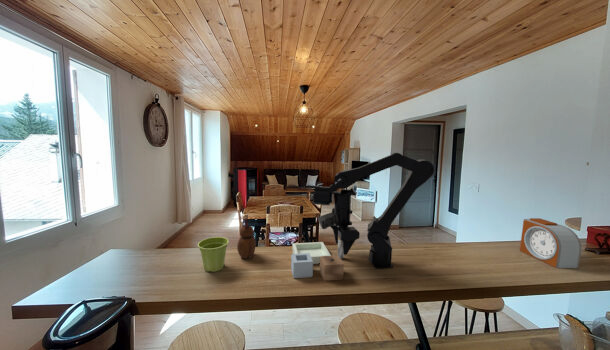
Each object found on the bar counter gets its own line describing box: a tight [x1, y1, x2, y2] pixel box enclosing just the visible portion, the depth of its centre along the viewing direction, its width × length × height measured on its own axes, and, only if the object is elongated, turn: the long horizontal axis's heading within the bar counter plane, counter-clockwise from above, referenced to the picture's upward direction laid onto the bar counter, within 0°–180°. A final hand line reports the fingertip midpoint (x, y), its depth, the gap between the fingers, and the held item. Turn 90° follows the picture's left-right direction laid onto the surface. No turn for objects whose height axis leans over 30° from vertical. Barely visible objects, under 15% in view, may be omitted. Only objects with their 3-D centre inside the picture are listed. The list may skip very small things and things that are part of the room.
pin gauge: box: [337, 235, 345, 260], centre depth 87 cm, size 2×2×9 cm
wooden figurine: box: [236, 217, 257, 259], centre depth 87 cm, size 7×6×15 cm
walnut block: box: [319, 254, 345, 281], centre depth 76 cm, size 6×6×5 cm
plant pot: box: [197, 236, 230, 273], centre depth 79 cm, size 9×9×9 cm
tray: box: [291, 241, 332, 265], centre depth 88 cm, size 12×12×3 cm
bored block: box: [290, 253, 314, 279], centre depth 77 cm, size 6×6×5 cm
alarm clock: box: [519, 217, 582, 269], centre depth 89 cm, size 15×8×14 cm, turn 2°
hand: (341, 248), depth 87 cm, fingers open, 9 cm apart
